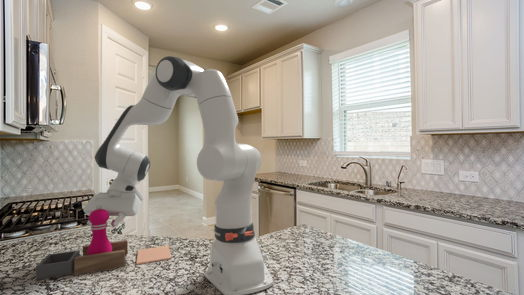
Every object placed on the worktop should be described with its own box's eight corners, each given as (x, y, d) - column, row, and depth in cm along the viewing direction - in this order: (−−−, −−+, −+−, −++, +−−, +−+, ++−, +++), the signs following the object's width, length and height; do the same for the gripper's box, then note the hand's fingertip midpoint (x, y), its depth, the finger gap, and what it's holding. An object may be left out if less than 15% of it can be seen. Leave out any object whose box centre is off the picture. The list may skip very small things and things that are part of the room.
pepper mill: (113, 258, 99) (112, 201, 99) (110, 265, 92) (109, 205, 92) (90, 261, 96) (88, 203, 96) (85, 269, 89) (83, 207, 90)
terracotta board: (171, 259, 96) (171, 257, 96) (136, 264, 92) (136, 263, 92) (168, 246, 109) (168, 245, 109) (138, 251, 105) (138, 249, 105)
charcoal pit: (71, 274, 86) (71, 261, 86) (36, 280, 83) (35, 266, 83) (79, 261, 97) (79, 250, 97) (48, 266, 93) (48, 254, 93)
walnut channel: (124, 266, 91) (124, 251, 91) (74, 274, 86) (74, 258, 86) (127, 253, 103) (127, 239, 103) (83, 260, 98) (83, 245, 98)
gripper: (92, 187, 105) (70, 220, 95) (140, 187, 101) (122, 221, 91) (101, 197, 109) (81, 229, 99) (148, 197, 105) (132, 230, 96)
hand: (101, 225), depth 95 cm, fingers open, 8 cm apart
